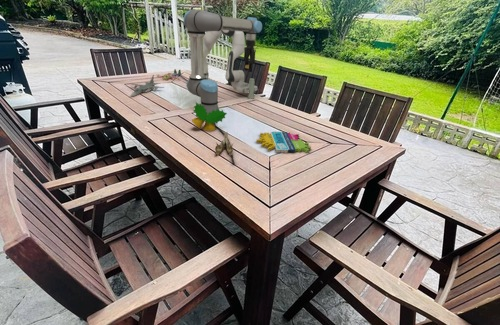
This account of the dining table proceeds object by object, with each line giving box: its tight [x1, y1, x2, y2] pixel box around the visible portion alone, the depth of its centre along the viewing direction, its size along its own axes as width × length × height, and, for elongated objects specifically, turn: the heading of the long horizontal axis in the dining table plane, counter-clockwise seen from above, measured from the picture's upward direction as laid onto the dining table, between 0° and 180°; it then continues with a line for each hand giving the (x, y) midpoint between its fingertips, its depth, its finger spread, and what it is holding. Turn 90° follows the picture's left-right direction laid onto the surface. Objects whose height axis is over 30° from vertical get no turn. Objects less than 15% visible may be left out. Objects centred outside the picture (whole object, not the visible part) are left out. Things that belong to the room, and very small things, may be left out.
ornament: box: [191, 102, 228, 132], centre depth 162 cm, size 21×8×15 cm, turn 105°
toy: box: [155, 68, 182, 81], centre depth 281 cm, size 28×7×30 cm
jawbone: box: [214, 131, 234, 156], centre depth 136 cm, size 9×15×10 cm
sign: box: [256, 131, 312, 154], centre depth 152 cm, size 26×2×30 cm
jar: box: [247, 77, 256, 100], centre depth 228 cm, size 5×5×17 cm
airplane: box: [130, 74, 165, 97], centre depth 228 cm, size 38×32×10 cm
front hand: (248, 71), depth 214 cm, fingers closed on lid, 5 cm apart
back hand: (251, 91), depth 228 cm, fingers closed on jar, 5 cm apart
